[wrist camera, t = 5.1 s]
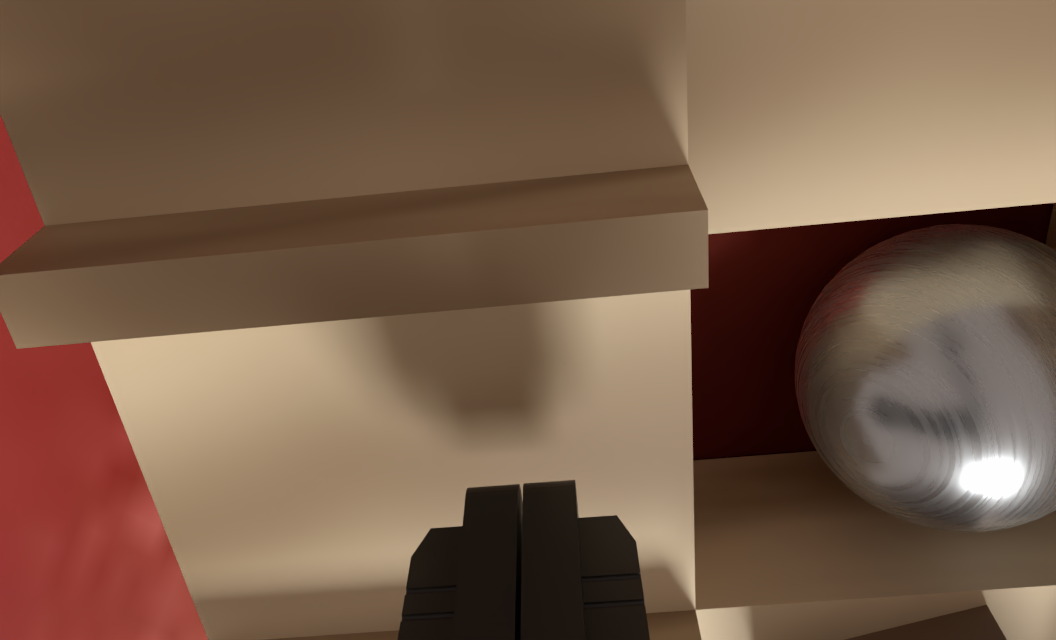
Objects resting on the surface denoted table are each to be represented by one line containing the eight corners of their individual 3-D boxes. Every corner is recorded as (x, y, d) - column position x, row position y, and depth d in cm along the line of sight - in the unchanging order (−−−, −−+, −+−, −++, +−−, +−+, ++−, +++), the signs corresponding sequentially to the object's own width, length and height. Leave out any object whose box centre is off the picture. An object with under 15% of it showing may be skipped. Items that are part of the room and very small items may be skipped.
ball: (1080, 360, 11) (1229, 228, 13) (738, 245, 14) (912, 159, 17) (1003, 655, 13) (1144, 494, 16) (729, 495, 16) (882, 385, 19)
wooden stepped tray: (61, -165, 13) (-341, -144, 7) (1340, -318, 12) (2137, -444, 6) (322, 667, 22) (242, 995, 16) (1080, 617, 21) (1303, 945, 15)
